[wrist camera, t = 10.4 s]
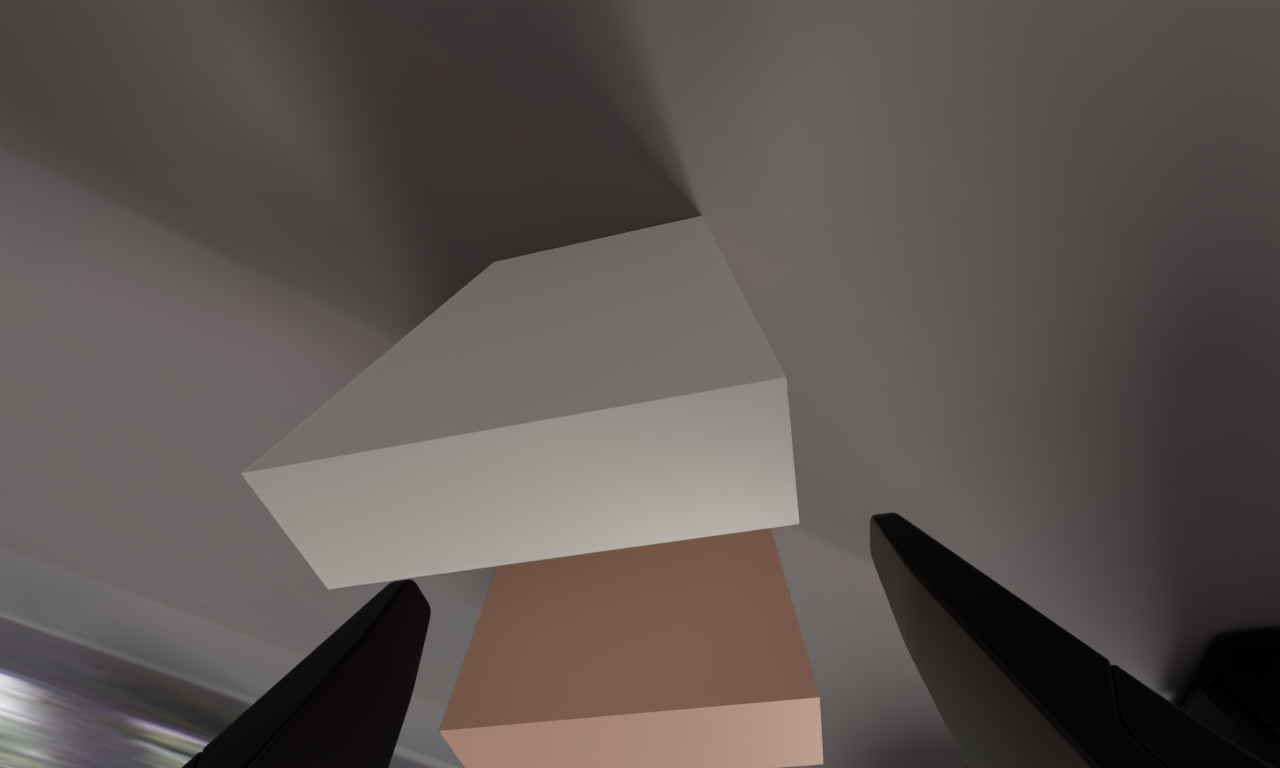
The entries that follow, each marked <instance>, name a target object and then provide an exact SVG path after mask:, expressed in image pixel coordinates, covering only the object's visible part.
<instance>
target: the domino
mask: <svg viewBox="0 0 1280 768" xmlns="http://www.w3.org/2000/svg"><path fill="white" fill-rule="evenodd" d="M241 474H242V476H243V477H244V478H245V480H246V481H247V482H248V484H249V485H250V486H251V488H252V489H253V490H254V492H255V493H256V494H257V496H258V497H259V498H260V500H261V501H262V502H263V504H264V505H265V506H266V508H267V509H268V510H269V512H270V513H271V514H272V516H273V517H274V518H275V519H276V521H277V522H278V523H279V525H280V526H281V527H282V529H283V530H284V531H285V533H286V534H287V535H288V537H289V538H290V539H291V541H292V542H293V543H294V545H295V546H296V547H297V549H298V550H299V551H300V553H301V554H302V555H303V557H304V558H305V559H306V561H307V562H308V563H309V565H310V566H311V567H312V569H313V570H314V571H315V573H316V574H317V575H318V577H319V578H320V579H321V581H322V582H323V583H324V585H325V586H326V587H327V589H334V588H342V587H349V586H356V585H363V584H370V583H378V582H385V581H392V580H399V579H406V578H414V577H421V576H428V575H435V574H442V573H450V572H457V571H464V570H471V569H478V568H486V567H493V566H500V565H507V564H514V563H522V562H529V561H536V560H543V559H550V558H557V557H565V556H572V555H579V554H586V553H593V552H601V551H608V550H615V549H622V548H629V547H637V546H644V545H651V544H658V543H665V542H673V541H680V540H687V539H694V538H701V537H709V536H716V535H723V534H730V533H737V532H745V531H752V530H759V529H766V528H773V527H781V526H788V525H795V524H799V515H798V503H797V492H796V481H795V470H794V459H793V448H792V436H791V425H790V414H789V403H788V392H787V381H786V376H785V374H784V372H783V370H782V368H781V366H780V364H779V363H778V361H777V359H776V357H775V355H774V353H773V351H772V349H771V347H770V345H769V343H768V342H767V340H766V338H765V336H764V334H763V332H762V330H761V328H760V326H759V324H758V323H757V321H756V319H755V317H754V315H753V313H752V311H751V309H750V307H749V305H748V303H747V302H746V300H745V298H744V296H743V294H742V292H741V290H740V288H739V286H738V284H737V282H736V281H735V279H734V277H733V275H732V273H731V271H730V269H729V267H728V265H727V263H726V262H725V260H724V258H723V256H722V254H721V252H720V250H719V248H718V246H717V244H716V242H715V241H714V239H713V237H712V235H711V233H710V231H709V229H708V227H707V225H706V223H705V222H704V220H703V218H702V216H698V217H694V218H689V219H685V220H680V221H676V222H671V223H667V224H662V225H658V226H653V227H649V228H644V229H640V230H635V231H631V232H626V233H622V234H617V235H613V236H608V237H604V238H599V239H595V240H590V241H586V242H581V243H577V244H572V245H568V246H563V247H559V248H554V249H550V250H545V251H541V252H536V253H532V254H527V255H523V256H518V257H514V258H509V259H505V260H500V261H496V262H493V263H492V264H491V265H490V266H488V267H487V268H486V269H485V270H484V271H482V272H481V273H480V274H479V275H478V276H476V277H475V278H474V279H473V280H472V281H470V282H469V283H468V284H467V285H466V286H465V287H463V288H462V289H461V290H460V291H459V292H457V293H456V294H455V295H454V296H453V297H451V298H450V299H449V300H448V301H447V302H445V303H444V304H443V305H442V306H441V307H439V308H438V309H437V310H436V311H435V312H433V313H432V314H431V315H430V316H429V317H427V318H426V319H425V320H424V321H423V322H421V323H420V324H419V325H418V326H417V327H415V328H414V329H413V330H412V331H411V332H410V333H408V334H407V335H406V336H405V337H404V338H402V339H401V340H400V341H399V342H398V343H396V344H395V345H394V346H393V347H392V348H390V349H389V350H388V351H387V352H386V353H384V354H383V355H382V356H381V357H380V358H378V359H377V360H376V361H375V362H374V363H372V364H371V365H370V366H369V367H368V368H366V369H365V370H364V371H363V372H362V373H360V374H359V375H358V376H357V377H356V378H355V379H353V380H352V381H351V382H350V383H349V384H347V385H346V386H345V387H344V388H343V389H341V390H340V391H339V392H338V393H337V394H335V395H334V396H333V397H332V398H331V399H329V400H328V401H327V402H326V403H325V404H323V405H322V406H321V407H320V408H319V409H317V410H316V411H315V412H314V413H313V414H311V415H310V416H309V417H308V418H307V419H305V420H304V421H303V422H302V423H301V424H300V425H298V426H297V427H296V428H295V429H294V430H292V431H291V432H290V433H289V434H288V435H286V436H285V437H284V438H283V439H282V440H280V441H279V442H278V443H277V444H276V445H274V446H273V447H272V448H271V449H270V450H268V451H267V452H266V453H265V454H264V455H262V456H261V457H260V458H259V459H258V460H256V461H255V462H254V463H253V464H252V465H250V466H249V467H248V468H247V469H246V470H245V471H243V472H242V473H241Z"/></svg>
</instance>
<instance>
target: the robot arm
mask: <svg viewBox="0 0 1280 768" xmlns="http://www.w3.org/2000/svg"><path fill="white" fill-rule="evenodd" d="M870 550H871V555H872V559H873V562H874V564H875V567H876V570H877V572H878V575H879V577H880V580H881V583H882V585H883V588H884V590H885V593H886V596H887V598H888V601H889V604H890V606H891V609H892V611H893V614H894V617H895V619H896V622H897V624H898V627H899V630H900V632H901V635H902V637H903V640H904V642H905V644H906V647H907V649H908V651H909V653H910V655H911V657H912V659H913V661H914V663H915V665H916V667H917V669H918V671H919V673H920V675H921V677H922V679H923V681H924V683H925V685H926V687H927V689H928V691H929V692H930V694H931V696H932V698H933V700H934V702H935V704H936V706H937V708H938V710H939V712H940V714H941V716H942V718H943V720H944V722H945V724H946V726H947V728H948V730H949V732H950V734H951V736H952V738H953V740H954V742H955V744H956V745H957V747H958V749H959V751H960V753H961V755H962V757H963V759H964V761H965V763H966V765H967V767H968V768H1280V631H1277V632H1267V633H1257V634H1247V635H1237V636H1231V637H1227V638H1224V639H1222V640H1220V641H1218V642H1217V643H1216V644H1215V645H1214V646H1213V648H1212V650H1211V652H1210V654H1209V656H1208V658H1207V659H1206V661H1205V663H1204V665H1203V667H1202V669H1201V671H1200V673H1199V675H1198V677H1197V679H1196V681H1195V683H1194V685H1193V686H1192V688H1191V690H1190V692H1189V694H1188V696H1187V698H1186V700H1185V702H1184V704H1183V706H1182V708H1181V709H1180V708H1178V707H1177V706H1175V705H1174V704H1172V703H1171V702H1170V701H1168V700H1167V699H1165V698H1164V697H1162V696H1161V695H1159V694H1158V693H1156V692H1155V691H1153V690H1152V689H1150V688H1149V687H1147V686H1146V685H1144V684H1143V683H1141V682H1140V681H1138V680H1137V679H1136V678H1134V677H1133V676H1131V675H1130V674H1128V673H1127V672H1125V671H1124V670H1123V669H1121V668H1120V667H1118V666H1117V665H1110V662H1109V660H1108V659H1106V658H1105V657H1103V656H1102V655H1101V654H1099V653H1098V652H1096V651H1095V650H1093V649H1092V648H1091V647H1089V646H1088V645H1086V644H1085V643H1083V642H1082V641H1080V640H1079V639H1078V638H1076V637H1075V636H1073V635H1072V634H1070V633H1069V632H1067V631H1066V630H1065V629H1063V628H1062V627H1060V626H1059V625H1057V624H1056V623H1054V622H1053V621H1052V620H1050V619H1049V618H1047V617H1046V616H1044V615H1043V614H1041V613H1040V612H1039V611H1037V610H1036V609H1034V608H1033V607H1031V606H1030V605H1028V604H1027V603H1026V602H1024V601H1023V600H1021V599H1020V598H1018V597H1017V596H1016V595H1014V594H1013V593H1011V592H1010V591H1008V590H1007V589H1005V588H1004V587H1003V586H1001V585H1000V584H998V583H997V582H995V581H994V580H992V579H991V578H990V577H988V576H987V575H985V574H984V573H982V572H981V571H979V570H978V569H977V568H975V567H974V566H972V565H971V564H969V563H968V562H966V561H965V560H964V559H962V558H961V557H959V556H958V555H956V554H955V553H954V552H952V551H951V550H949V549H948V548H946V547H945V546H943V545H942V544H941V543H939V542H938V541H936V540H935V539H933V538H932V537H930V536H929V535H928V534H926V533H925V532H923V531H922V530H920V529H919V528H917V527H916V526H915V525H913V524H912V523H910V522H909V521H907V520H906V519H904V518H903V517H902V516H900V515H899V514H896V513H892V512H891V513H884V514H877V515H873V516H872V517H871V520H870ZM430 613H431V612H430V606H429V603H428V602H427V600H426V598H425V597H424V595H423V594H422V592H421V590H420V589H419V587H418V586H417V584H416V583H415V582H414V581H413V580H410V579H407V580H400V581H394V582H391V583H390V584H388V585H387V586H386V587H385V588H384V589H383V590H381V591H380V592H379V593H378V594H377V595H376V596H375V597H374V598H372V599H371V600H370V601H369V602H368V603H367V604H366V605H365V606H363V607H362V608H361V609H360V610H359V611H358V612H357V613H356V614H354V615H353V616H352V617H351V618H350V619H349V620H348V621H346V622H345V623H344V624H343V625H342V626H341V627H340V628H339V629H337V630H336V631H335V632H334V633H333V634H332V635H331V636H330V637H328V638H327V639H326V640H325V641H324V642H323V643H322V644H321V645H319V646H318V647H317V648H316V649H315V650H314V651H313V652H312V653H310V654H309V655H308V656H307V657H306V658H305V659H304V660H303V661H301V662H300V663H299V664H298V665H297V666H296V667H295V668H294V669H292V670H291V671H290V672H289V673H288V674H287V675H286V676H285V677H283V678H282V679H281V680H280V681H279V682H278V683H277V684H275V685H274V686H273V687H272V688H271V689H270V690H269V691H268V692H266V693H265V694H264V695H263V696H262V697H261V698H260V699H259V700H257V701H256V702H255V703H254V704H253V705H252V706H251V707H250V708H248V709H247V710H246V711H245V712H244V713H243V714H242V715H241V716H239V717H238V718H237V719H236V720H235V721H234V722H233V723H232V724H230V725H229V726H228V727H227V728H226V729H225V730H224V731H223V732H221V733H220V734H219V735H218V736H217V737H216V738H215V739H214V740H212V741H211V742H210V743H209V744H208V745H207V746H206V747H205V748H204V749H203V751H202V752H199V753H198V754H196V755H195V756H194V757H193V758H192V759H191V760H190V761H189V762H187V763H186V764H185V765H184V766H183V767H182V768H389V765H390V761H391V758H392V755H393V752H394V749H395V746H396V743H397V740H398V737H399V734H400V731H401V728H402V725H403V722H404V719H405V716H406V713H407V710H408V706H409V703H410V700H411V697H412V693H413V689H414V685H415V681H416V677H417V672H418V668H419V664H420V660H421V655H422V651H423V647H424V642H425V638H426V634H427V629H428V625H429V621H430Z"/></svg>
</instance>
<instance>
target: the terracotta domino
mask: <svg viewBox="0 0 1280 768" xmlns="http://www.w3.org/2000/svg"><path fill="white" fill-rule="evenodd" d="M439 732H440V733H441V735H442V736H443V738H444V739H445V740H446V742H447V743H448V745H449V746H450V747H451V749H452V750H453V751H454V753H455V754H456V756H457V757H458V758H459V760H460V761H461V763H462V764H463V765H464V767H465V768H779V767H793V766H807V765H821V764H823V747H822V730H821V713H820V697H819V693H818V690H817V687H816V683H815V680H814V676H813V673H812V669H811V666H810V662H809V659H808V656H807V652H806V649H805V645H804V642H803V638H802V635H801V631H800V628H799V624H798V621H797V618H796V614H795V611H794V607H793V604H792V600H791V597H790V593H789V590H788V587H787V583H786V580H785V576H784V573H783V569H782V566H781V562H780V559H779V556H778V552H777V549H776V545H775V542H774V538H773V535H772V531H771V528H766V529H759V530H752V531H745V532H737V533H730V534H723V535H716V536H709V537H701V538H694V539H687V540H680V541H673V542H665V543H658V544H651V545H644V546H637V547H629V548H622V549H615V550H608V551H601V552H593V553H586V554H579V555H572V556H565V557H557V558H550V559H543V560H536V561H529V562H522V563H514V564H507V565H500V566H498V567H497V569H496V572H495V575H494V578H493V580H492V583H491V586H490V589H489V592H488V594H487V597H486V600H485V603H484V606H483V608H482V611H481V614H480V617H479V620H478V622H477V625H476V628H475V631H474V634H473V636H472V639H471V642H470V645H469V648H468V650H467V653H466V656H465V659H464V662H463V664H462V667H461V670H460V673H459V676H458V678H457V681H456V684H455V687H454V689H453V692H452V695H451V698H450V701H449V703H448V706H447V709H446V712H445V715H444V717H443V720H442V723H441V726H440V729H439Z"/></svg>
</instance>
